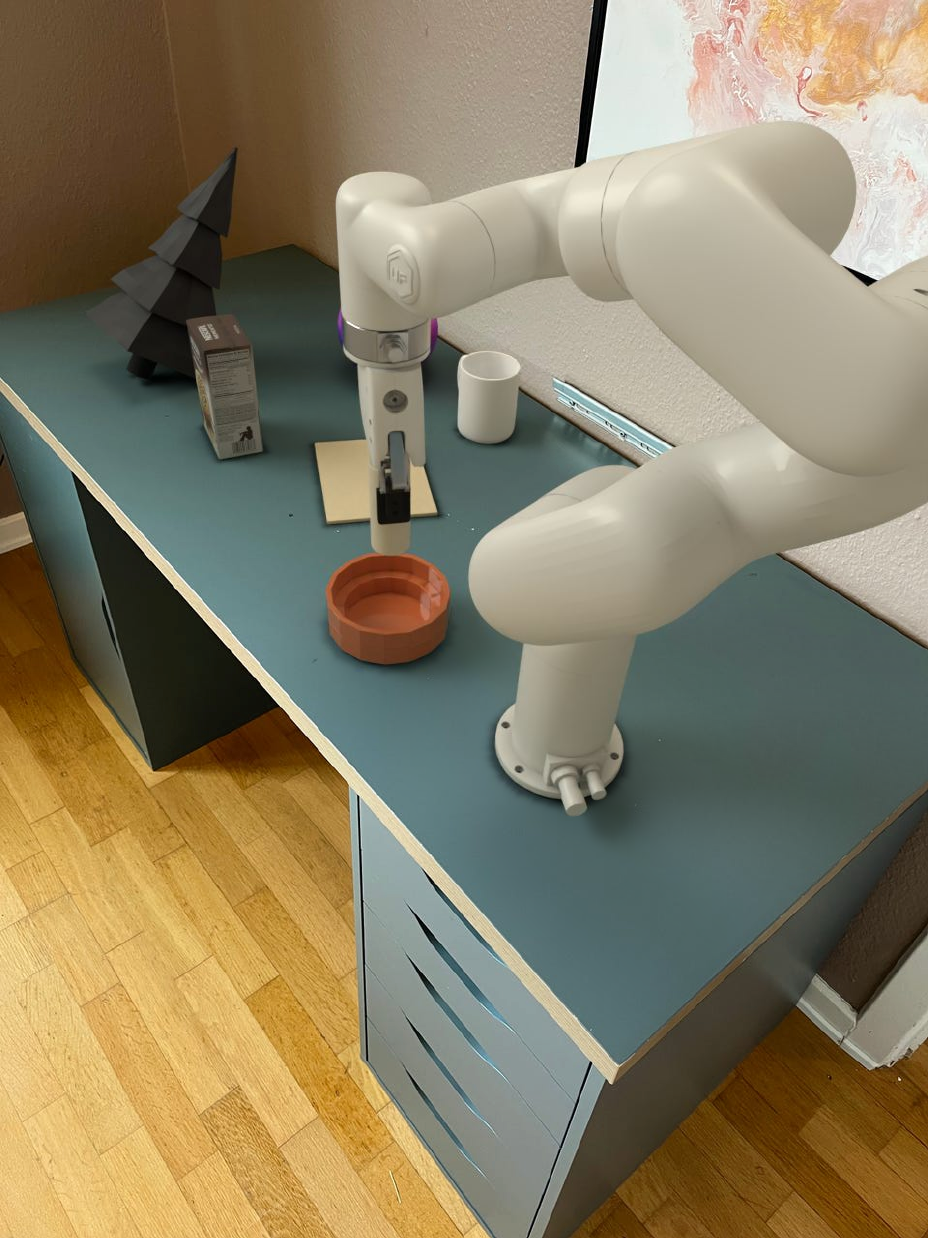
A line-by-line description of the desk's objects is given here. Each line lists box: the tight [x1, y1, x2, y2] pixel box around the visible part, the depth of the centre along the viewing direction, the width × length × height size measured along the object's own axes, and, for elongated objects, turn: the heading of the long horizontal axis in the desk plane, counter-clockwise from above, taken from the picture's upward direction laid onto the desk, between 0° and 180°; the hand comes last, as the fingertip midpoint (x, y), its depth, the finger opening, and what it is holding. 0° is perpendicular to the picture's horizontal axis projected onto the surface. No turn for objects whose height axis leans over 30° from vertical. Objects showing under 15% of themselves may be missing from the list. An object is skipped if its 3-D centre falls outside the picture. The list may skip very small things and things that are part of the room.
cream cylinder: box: [368, 456, 412, 556], centre depth 91 cm, size 4×4×10 cm
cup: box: [456, 350, 522, 445], centre depth 131 cm, size 8×12×10 cm
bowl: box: [325, 552, 451, 665], centre depth 101 cm, size 13×13×5 cm
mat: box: [314, 438, 438, 525], centre depth 122 cm, size 18×14×1 cm
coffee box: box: [186, 313, 264, 460], centre depth 122 cm, size 9×6×16 cm
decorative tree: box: [84, 146, 239, 381], centre depth 133 cm, size 15×15×35 cm
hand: (390, 505), depth 91 cm, fingers closed on cream cylinder, 4 cm apart
